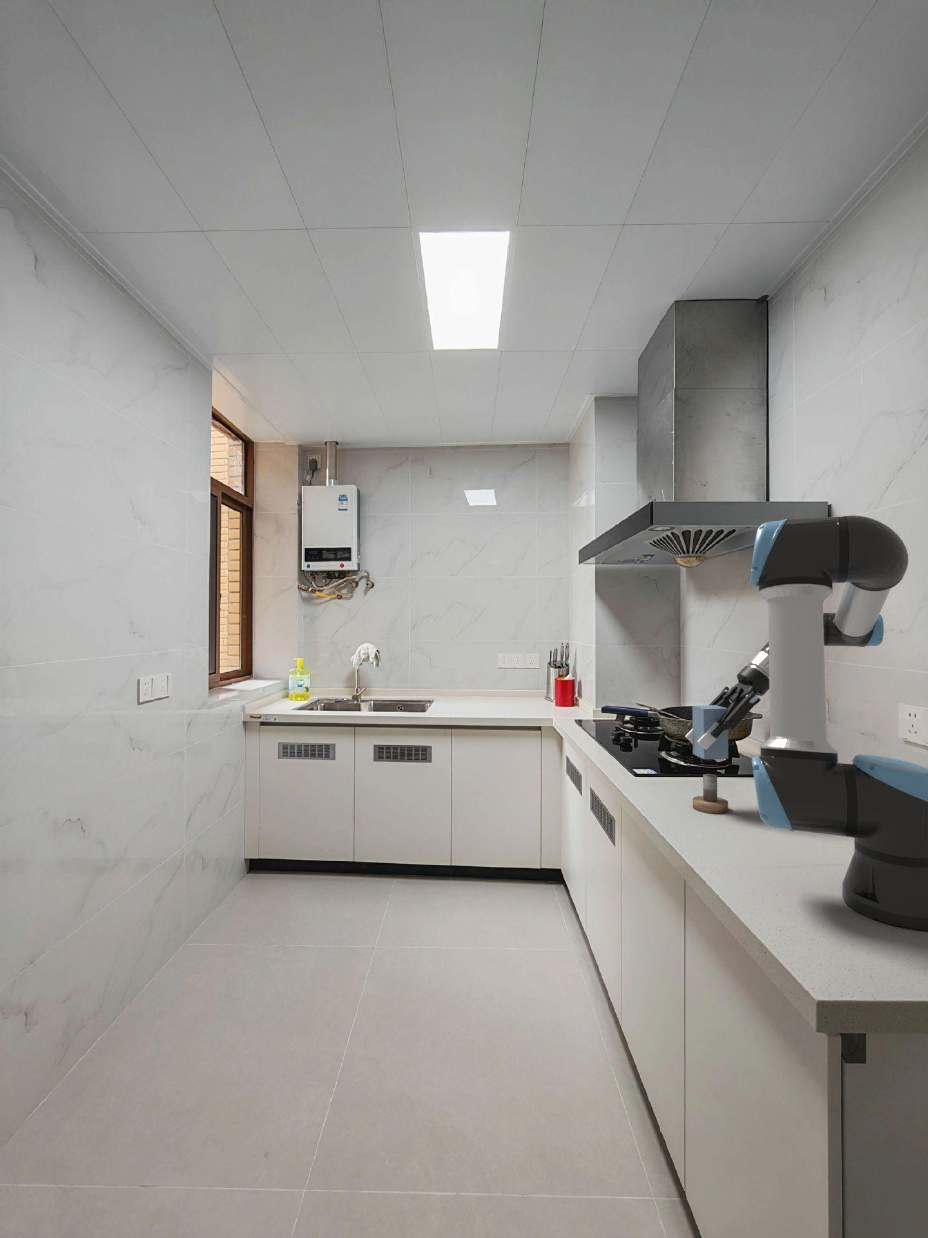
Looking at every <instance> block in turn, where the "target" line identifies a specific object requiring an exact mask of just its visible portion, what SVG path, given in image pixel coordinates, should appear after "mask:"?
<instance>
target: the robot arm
mask: <svg viewBox="0 0 928 1238" xmlns="http://www.w3.org/2000/svg"><path fill="white" fill-rule="evenodd" d="M908 566H909V554H908V549H907V547H906V544H905V543H904V542H903V540H902V538H901V537H900V536H899V534H898V533H897V532H895V531H894V530H893V529H892V528H891V527H889V526H888V525H886V524H885V523H882V522H881V521H880V520H877V519H874V518H871V517H868V516H864V515H863V516H861V515H844V516H828V517H827V516H826V517H809V518H808V517H807V518H792V519H791V518H790V519H788V518H785V519H783V520H782V519H781V520H776V521H775V520H774V521H766V522H764V523H761V525H760V526H759V527H758V528H757V531H756V534H755V540H754V547H753V554H752V563H751V570H750V571H751V572H750V582H749V583H750V585H752V586H755V587H758V595H759V596H760V597H761V599H764V600H765V602H766V604H768V607H767V608H768V642H766V644H765V645H764V646H763V647H762V648H761V649H760V650H759V651H758V652H757V653H756V654H755V655H754V656H753V657H752V658H751V659H750V661H748V663H747V665H745V666H744V667H743V668H742V669H741V670H740V671H739V672H738V673H737V675H736V678H737V681H738V682H737V683H736V684H735V685H733V686H732V687H731V688H730V687H729V686H725V687H723V689H722V691H720V693H719V694H718V695H717V696H716V697H715V698H714V699H713V700H712V701H711V702H710V703H709V704H708V705H717V706H721V707H724V708H728V710H727V711H726V712H725V713H724V715H723V716H722V718H721V719H717V722H718V723H719V724H718V723H717V722H715V723H714V724H713V725H712V726H711V727H710V728H709V729H708V731H707V732H706V733H705V734H704V735H703V736H702V737H701V738H700V739H699V740H698V741H697V742H698V743H699V744H700V745H701V746H702V747H703V748H704V749H705V750H707V749H708V748H709V747H710V746H711V745H712V744H713V742H714V741H715V740H716V739H717V738H718V737H719V736H720V735H721V734H722V733H723V732H724V731H725V730H728V731H729V730H730V729H731V730H734V729H735V728H736V727H737V726H738V725H739V723H741V722H742V721H743V719H744V718H745V717H746V716H747V714H749V712H750V711H751V710H752V709H753V708H754V707H755V706H757V704H758V703H760V701H761V698H760V697H762V696H765V694H766V693H767V692H768V691H769V737H768V739H767V740H766V741H765V742H763V743H762V744H761V745H760V755H755V756H752V757H751V764H752V772H753V780H754V787H755V794H756V800H757V808H758V812H759V813H758V814H759V817H760V820H761V821H762V823H764V824H765V825H766V826H768V827H772V828H777V829H783V830H789V831H790V832H794V831H797V832H804V833H805V832H806V833H814V834H823V835H831V836H838V837H846V838H854V852H853V854H852V858H851V860H850V862H849V865H848V868H847V870H846V872H845V876H844V878H843V880H842V886H841V887H842V888H841V889H842V890H841V892H842V894H841V895H842V900H843V901H844V903H845V904H846V905H847V906H848V907H850V908H851V909H853V910H854V911H856V912H858V913H860V914H861V915H864V916H866V917H868V918H870V919H873V920H876V921H879V922H882V923H886V924H889V925H893V926H897V927H901V928H906V929H912V930H922V931H928V768H927V767H925V766H922V765H919V764H916V763H913V762H909V761H905V760H901V759H898V758H892V757H887V756H880V755H875V754H874V755H873V754H856V755H855V756H854V757H853V759H852V763H842V762H839V760H838V755H839V754H838V750H837V749H836V748H834V747H833V745H831V744H830V743H829V742H828V739H827V711H826V709H827V708H826V677H825V676H826V673H825V671H826V670H825V669H826V664H825V647H859V648H865V647H875V646H876V647H877V646H879V645H881V644H882V642H883V640H884V633H885V631H884V630H885V628H884V626H885V625H884V620H883V619H884V618H883V616H882V615H881V614H880V613H881V611H882V609H883V607H884V604H885V602H886V600H887V598H888V595H889V594H890V592H891V589H893V588H894V587H896V586H898V584H900V582H901V581H902V580H903V578H904V576H905V574H906V571H907V569H908ZM841 583H842V584H843V583H844V584H843V587H842V591H841V595H840V597H839V602H838V605H837V608H836V612H824V603H825V602H824V601H825V600H827V598H828V597H830V596H831V595H832V594H833V592H834V590H833V589H834V588H833V584H841ZM684 737H685V738H686V739H687V740H688V741H689V742H690V743H691V744H692V745H693V727H692V728H691V730H689V732H687V733H686V735H685V736H684Z"/></svg>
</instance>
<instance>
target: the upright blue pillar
mask: <svg viewBox="0 0 928 1238" xmlns="http://www.w3.org/2000/svg"><path fill="white" fill-rule="evenodd" d="M727 710H728V708H724V707H721V706H717V705H709V704H705V705H704V704H703V705H700V704H699V705H692V728H693V744H692V755H694V756H696V757H698V758H699V759H700V758H701V759H703V760H728V759H729V729H728V730H725V731H724V732H723V733H722V734H721V735H720V736H719V737H718V738H717V739H716V740H715V741H714V742H713V744H712V745H711V746H710V747H709V748H708V749H707V750H705V749H704V748H703V747H702V746H701V745H700V744H699V743H698V742H697V741H698V740H699V739H700V738H701V737H702V736H703V735H704V734H705V733H706V732H707V731H708V729H709V728H710V727H711V726H712V725H713V724H714V723H715V722H717V719H721V718H722V716H723V715H724V713H725V712H726V711H727ZM717 723H718V722H717ZM718 724H719V723H718Z"/></svg>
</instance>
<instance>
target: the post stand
mask: <svg viewBox="0 0 928 1238" xmlns="http://www.w3.org/2000/svg"><path fill="white" fill-rule="evenodd" d="M692 808H693V810H696V811H697V812H701V813H706V814H714V815H716V814H717V815H719V814H726V813H728V812H729V801H728V800H727V799H724V798H722V797H719V796H718V775H716V774H712V773H705V774H703V775H702V795H696V796H693V798H692Z"/></svg>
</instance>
